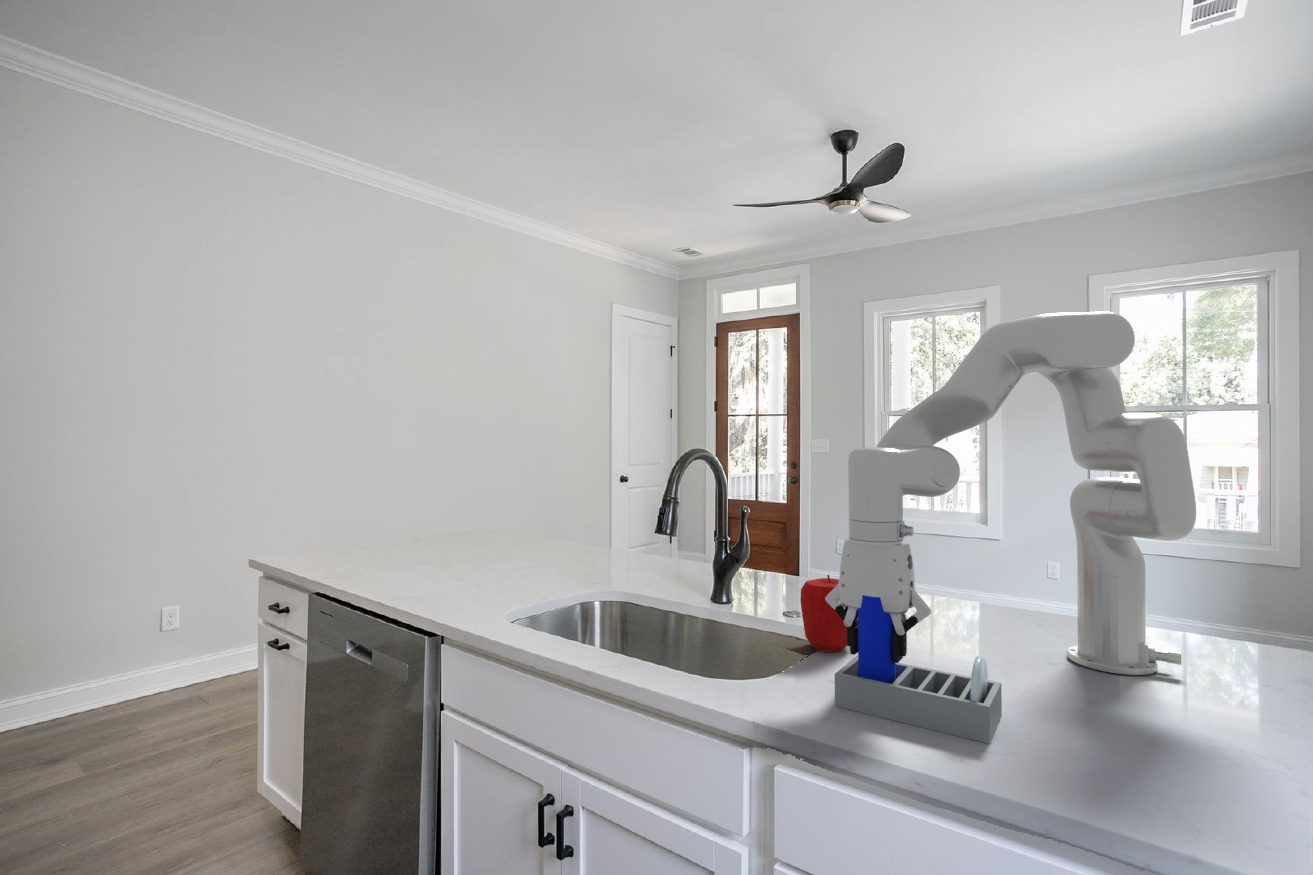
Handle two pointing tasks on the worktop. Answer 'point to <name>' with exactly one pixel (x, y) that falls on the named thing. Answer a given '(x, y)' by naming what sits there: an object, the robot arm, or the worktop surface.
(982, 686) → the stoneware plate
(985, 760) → the worktop surface
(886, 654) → the beverage can
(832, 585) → the apple
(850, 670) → the dish rack
